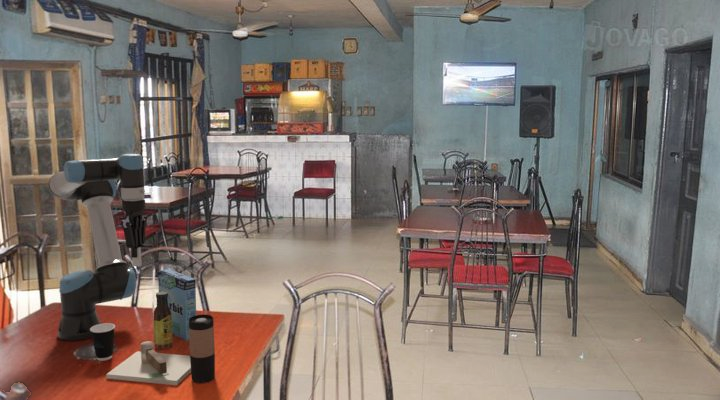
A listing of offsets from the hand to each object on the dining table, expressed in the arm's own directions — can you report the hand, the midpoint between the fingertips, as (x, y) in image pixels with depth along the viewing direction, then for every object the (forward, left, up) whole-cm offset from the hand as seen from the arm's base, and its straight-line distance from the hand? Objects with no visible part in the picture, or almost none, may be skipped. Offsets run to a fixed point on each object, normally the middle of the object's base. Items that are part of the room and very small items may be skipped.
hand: (137, 265), depth 207 cm
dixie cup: (-8, -10, -31) cm, 33 cm away
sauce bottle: (+7, +3, -31) cm, 32 cm away
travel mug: (+32, -18, -31) cm, 48 cm away
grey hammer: (+15, -17, -29) cm, 37 cm away
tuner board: (+14, -15, -30) cm, 37 cm away
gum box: (+6, +16, -31) cm, 35 cm away
